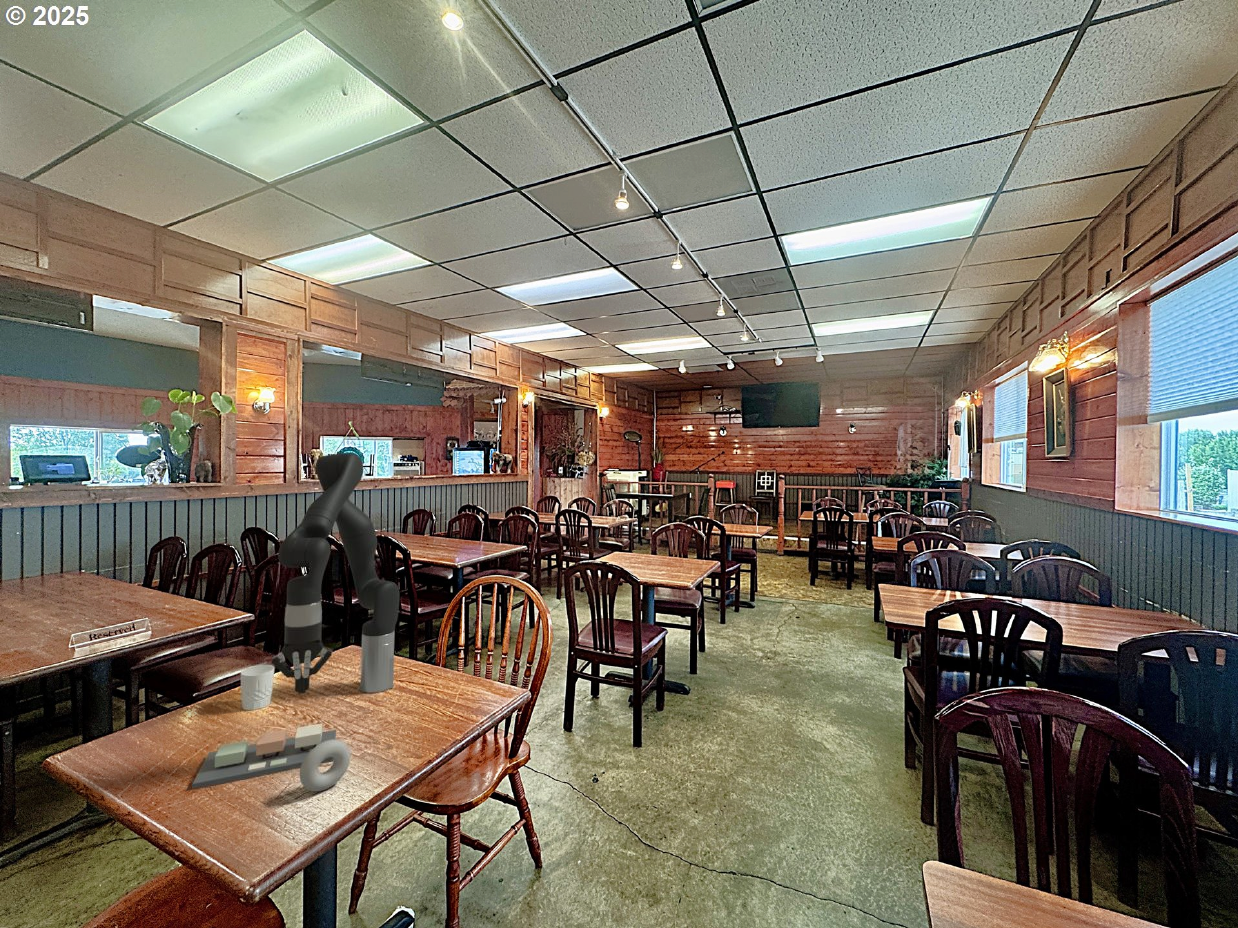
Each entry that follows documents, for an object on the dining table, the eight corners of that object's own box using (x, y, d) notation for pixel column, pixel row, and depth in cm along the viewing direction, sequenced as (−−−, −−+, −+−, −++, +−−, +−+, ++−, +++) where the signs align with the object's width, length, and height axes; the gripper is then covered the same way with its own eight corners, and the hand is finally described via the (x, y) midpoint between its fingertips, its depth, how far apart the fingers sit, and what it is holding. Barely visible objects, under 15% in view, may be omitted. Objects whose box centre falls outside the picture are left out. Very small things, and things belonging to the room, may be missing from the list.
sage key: (247, 756, 119) (248, 739, 119) (243, 768, 114) (243, 751, 114) (220, 761, 116) (221, 744, 116) (214, 773, 112) (215, 756, 112)
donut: (345, 774, 114) (347, 729, 114) (352, 780, 112) (354, 735, 112) (295, 795, 106) (297, 747, 106) (302, 802, 104) (303, 754, 104)
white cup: (260, 712, 140) (261, 676, 141) (232, 710, 141) (233, 674, 141) (279, 699, 148) (280, 665, 148) (253, 698, 148) (254, 664, 149)
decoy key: (286, 745, 122) (286, 729, 122) (282, 756, 117) (283, 740, 118) (260, 749, 120) (260, 733, 120) (255, 761, 115) (256, 744, 115)
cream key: (321, 738, 125) (322, 723, 126) (320, 749, 121) (320, 733, 121) (297, 743, 123) (297, 727, 123) (294, 754, 118) (295, 737, 119)
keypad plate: (335, 734, 130) (336, 728, 130) (333, 760, 119) (333, 754, 119) (209, 757, 119) (209, 750, 119) (192, 789, 107) (192, 782, 107)
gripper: (336, 613, 128) (334, 681, 128) (273, 619, 122) (272, 690, 122) (333, 622, 121) (332, 694, 121) (267, 628, 115) (265, 704, 116)
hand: (302, 692), depth 122 cm, fingers closed
